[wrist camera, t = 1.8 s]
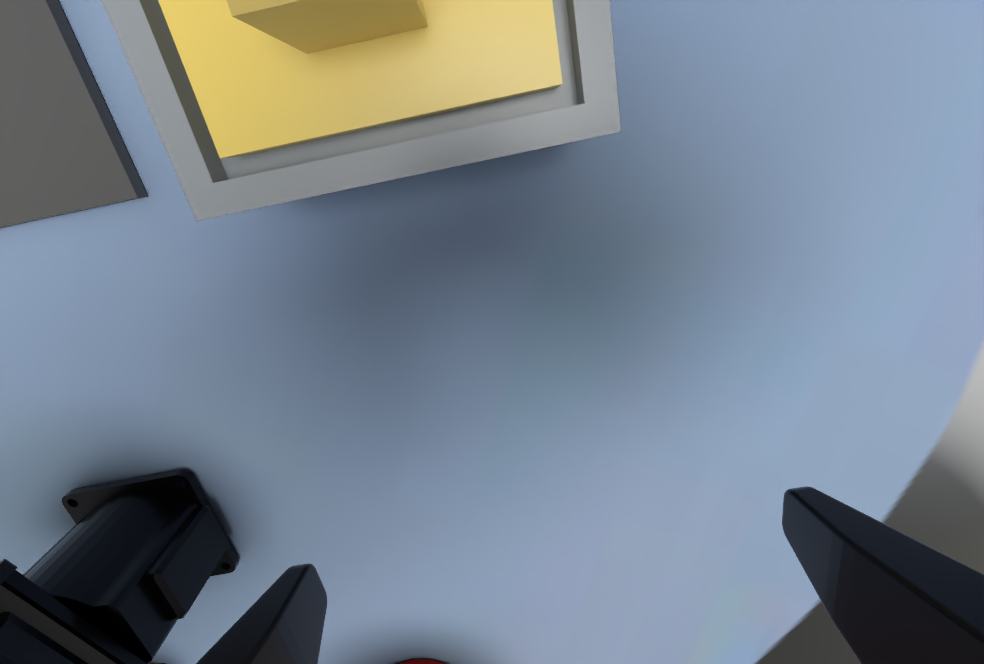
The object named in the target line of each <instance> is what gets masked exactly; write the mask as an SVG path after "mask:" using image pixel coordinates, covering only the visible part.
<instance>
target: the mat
mask: <svg viewBox="0 0 984 664" xmlns="http://www.w3.org/2000/svg"><path fill="white" fill-rule="evenodd" d="M146 196H148V195H147V193H146V191H145V188H144V186H143V184H142V182H141V180H140V177H139V175H138V173H137V171H136V169H135V167H134V164H133V162H132V160H131V158H130V156H129V153H128V151H127V149H126V147H125V145H124V143H123V140H122V138H121V136H120V134H119V132H118V129H117V127H116V125H115V123H114V121H113V118H112V116H111V114H110V112H109V110H108V108H107V105H106V103H105V101H104V99H103V97H102V94H101V92H100V90H99V88H98V86H97V84H96V81H95V79H94V77H93V75H92V73H91V70H90V68H89V66H88V64H87V62H86V60H85V57H84V55H83V53H82V51H81V49H80V46H79V44H78V42H77V40H76V38H75V36H74V33H73V31H72V29H71V27H70V25H69V22H68V20H67V18H66V16H65V14H64V11H63V9H62V7H61V5H60V3H59V1H58V0H0V228H2V227H7V226H11V225H16V224H21V223H25V222H30V221H35V220H39V219H44V218H49V217H53V216H58V215H63V214H67V213H72V212H77V211H81V210H86V209H91V208H95V207H100V206H105V205H109V204H114V203H119V202H123V201H128V200H132V199H137V198H142V197H146Z"/></svg>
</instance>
